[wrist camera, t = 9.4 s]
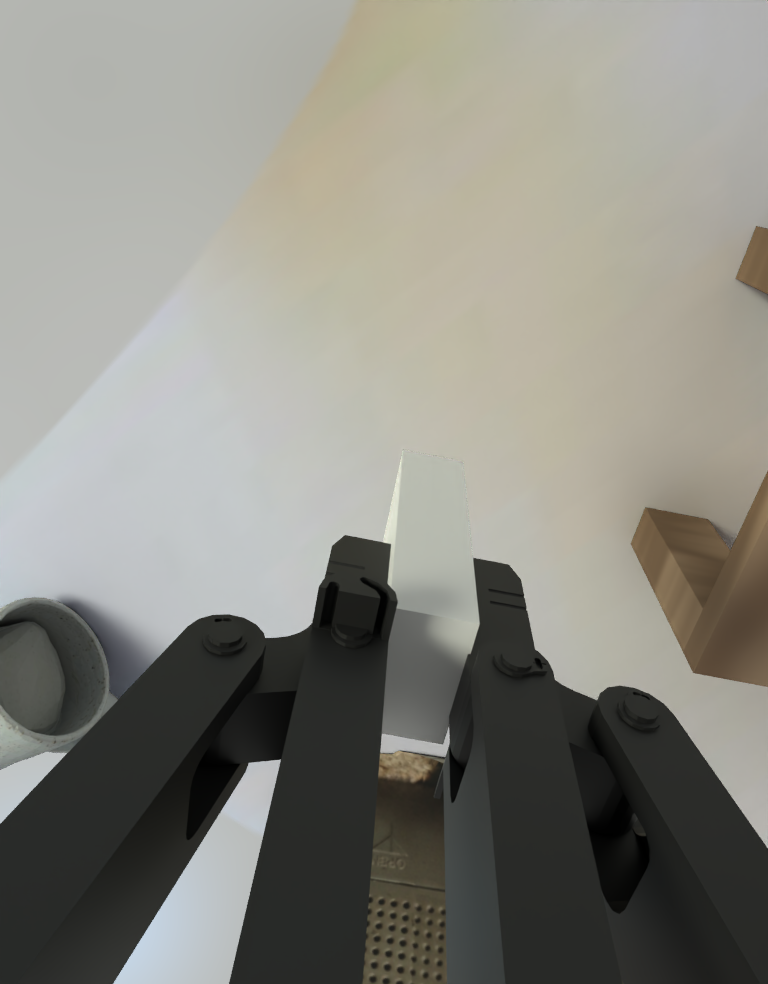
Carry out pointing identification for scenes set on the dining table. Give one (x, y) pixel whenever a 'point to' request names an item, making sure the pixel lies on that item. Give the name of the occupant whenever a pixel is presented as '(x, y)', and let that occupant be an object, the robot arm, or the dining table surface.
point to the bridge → (715, 565)
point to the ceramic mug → (48, 679)
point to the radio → (407, 875)
